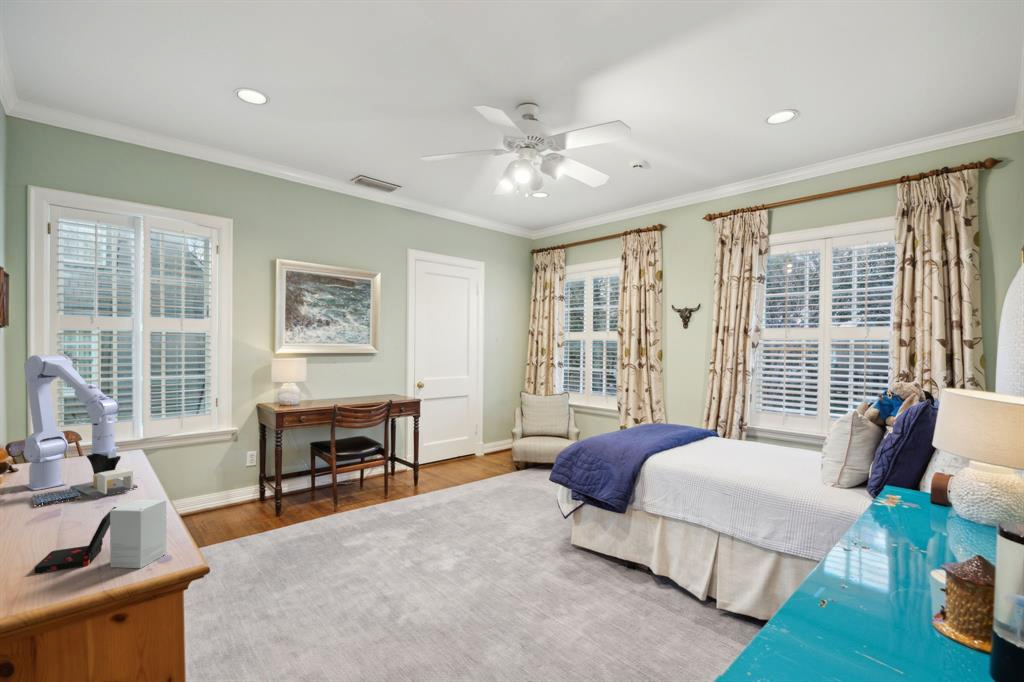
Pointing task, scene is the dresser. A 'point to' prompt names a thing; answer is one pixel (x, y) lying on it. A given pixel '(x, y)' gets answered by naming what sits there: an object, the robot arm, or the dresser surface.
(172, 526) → the dresser surface
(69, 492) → the woven mat
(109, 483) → the ochre block
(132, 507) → the supplement box
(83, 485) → the puzzle board
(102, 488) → the cover
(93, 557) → the handheld gaming console
